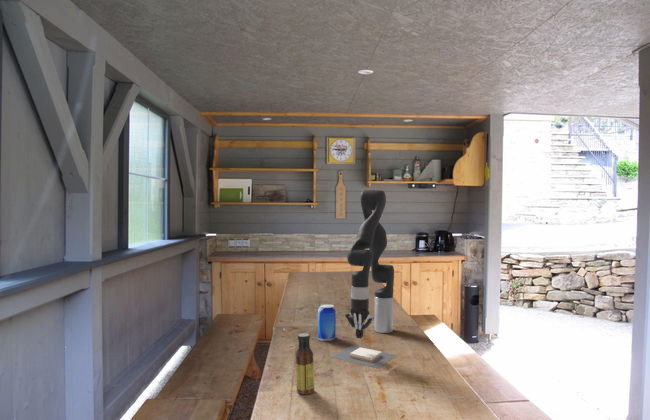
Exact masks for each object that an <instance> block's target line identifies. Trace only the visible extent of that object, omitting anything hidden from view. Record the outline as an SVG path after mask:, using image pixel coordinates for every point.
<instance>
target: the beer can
mask: <svg viewBox="0 0 650 420" xmlns="http://www.w3.org/2000/svg"><path fill="white" fill-rule="evenodd" d="M336 314H337V310H336V308H335V307H334V305H333V304H330V303H325V304H324V303H322V304H319V307H318V310H317V338H318V340H319V341H320V342H326V341H327V342H329V341H333V340H335V339H336V337H337V336H336V329H337V328H336V327H337V326H336V325H337V323H336V322H337V320H336V319H337V318H336V317H337V315H336Z"/></svg>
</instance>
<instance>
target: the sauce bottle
mask: <svg viewBox="0 0 650 420" xmlns="http://www.w3.org/2000/svg"><path fill="white" fill-rule="evenodd" d="M310 337H311V336H310V334H309V333H306V332H302V333H299V334H297V340H298V347H297V350H296V352H295V380H296V381H295V382H296V384H295V386H296V392H297V393H298V394H300V395H305V396H306V395H311V394H313V393H314V392H315V362H314V352H313V351H312V349H311V347H310Z"/></svg>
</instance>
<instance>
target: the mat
mask: <svg viewBox="0 0 650 420" xmlns="http://www.w3.org/2000/svg"><path fill="white" fill-rule="evenodd" d="M358 348H360V347H359V346H354V345H350V346H348V347H346V348H345V349H342V350H341V351H339V352H337V353H335V354H334V355H331V356H330V357H329V358H330V359H335V360H338V361H342V362H343V361H344V362H348V363H352V364H356V365H361V366H364V367H369V368H374V369H379V368H381V367H383V366H384V365H385V364H387V363H388V362H389V361H391V360H392V359H394V358H395V357H397V356H398V355H397V354H393V353H387V352H382V351H381V352H382V356H381V357H379V358H378V359H376V360H375V361H373V362H368V361H363V360H359V359H354V358H350V353H351V352H353V351H355V350H357V349H358Z"/></svg>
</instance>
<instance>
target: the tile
mask: <svg viewBox="0 0 650 420" xmlns="http://www.w3.org/2000/svg"><path fill="white" fill-rule="evenodd" d="M381 356H382V351H379V350H374V349H371V348H370V349H369V348H365V347H360V348H358V349H357V350H355V351H353V352H351V353H350V358H354V359H359V360H363V361H368V362H373V361H375V360H376V359H378V358H379V357H381Z"/></svg>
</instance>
